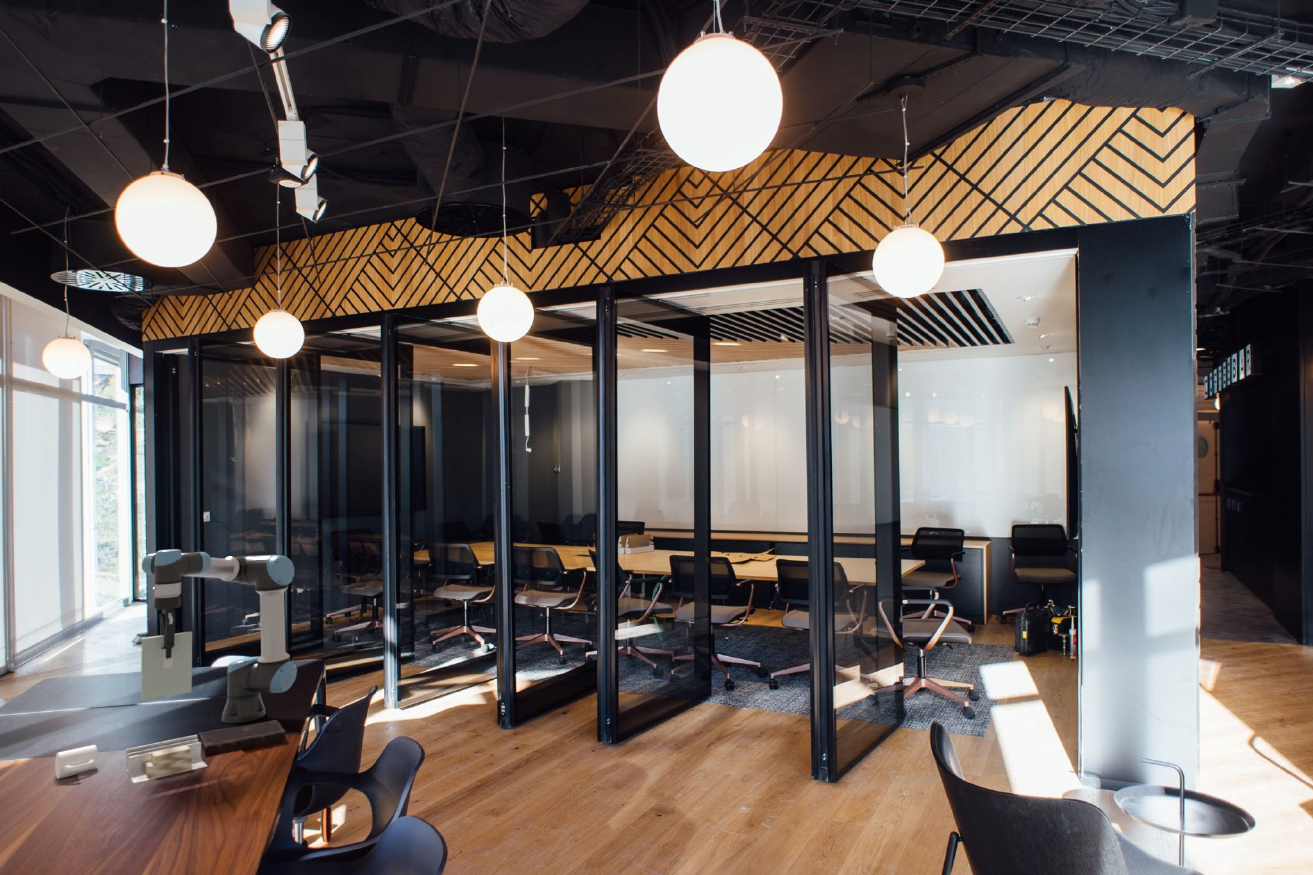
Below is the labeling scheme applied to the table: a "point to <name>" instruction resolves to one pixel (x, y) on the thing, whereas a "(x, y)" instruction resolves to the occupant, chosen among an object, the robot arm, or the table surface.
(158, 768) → the offcut lower
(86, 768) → the mug
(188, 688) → the board
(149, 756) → the rack
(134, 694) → the table surface
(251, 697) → the robot arm
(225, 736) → the diary
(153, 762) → the offcut upper
